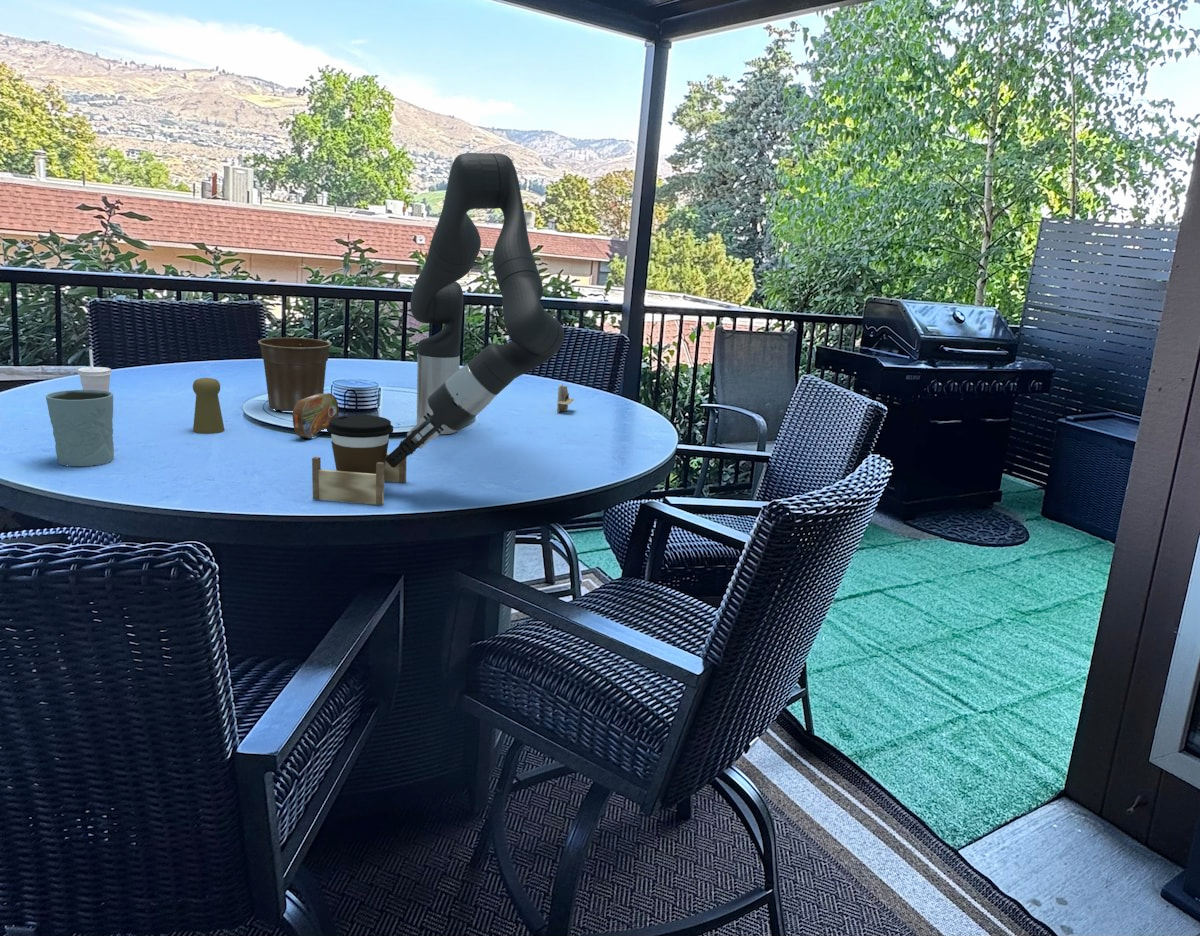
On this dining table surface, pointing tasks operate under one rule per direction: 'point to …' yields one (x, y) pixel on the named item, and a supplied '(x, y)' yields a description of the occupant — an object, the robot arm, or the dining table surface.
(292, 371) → the plant pot
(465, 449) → the dining table surface
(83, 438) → the green embossed planter
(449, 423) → the robot arm
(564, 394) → the architectural model
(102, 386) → the smoothie
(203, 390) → the cork
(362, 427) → the coffee cup
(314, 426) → the tin
